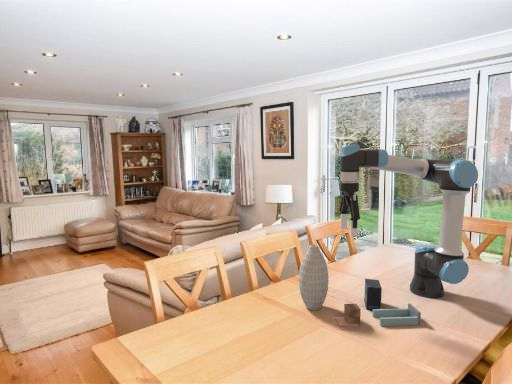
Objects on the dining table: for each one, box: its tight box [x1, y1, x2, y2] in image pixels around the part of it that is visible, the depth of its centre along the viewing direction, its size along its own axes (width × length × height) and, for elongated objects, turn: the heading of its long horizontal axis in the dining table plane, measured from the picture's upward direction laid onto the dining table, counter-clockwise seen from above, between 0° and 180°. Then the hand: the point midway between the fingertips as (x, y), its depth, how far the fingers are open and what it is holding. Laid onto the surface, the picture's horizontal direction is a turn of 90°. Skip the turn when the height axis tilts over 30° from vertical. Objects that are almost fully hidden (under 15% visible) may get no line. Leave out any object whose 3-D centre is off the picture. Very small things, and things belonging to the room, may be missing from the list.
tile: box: [334, 316, 359, 328], centre depth 143 cm, size 7×7×1 cm
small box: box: [363, 278, 383, 311], centre depth 158 cm, size 11×6×10 cm, turn 168°
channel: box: [372, 303, 422, 327], centre depth 144 cm, size 16×8×5 cm, turn 93°
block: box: [343, 303, 362, 324], centre depth 143 cm, size 5×5×6 cm
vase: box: [298, 243, 329, 311], centre depth 155 cm, size 13×13×28 cm
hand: (348, 232), depth 149 cm, fingers open, 13 cm apart
